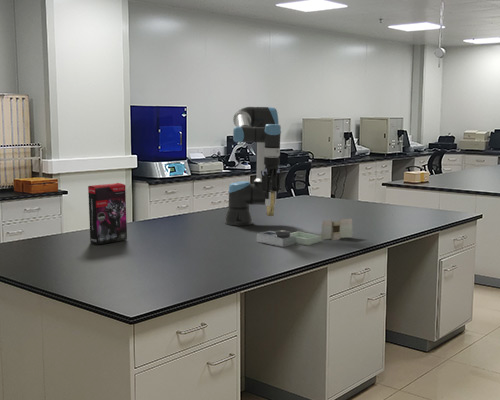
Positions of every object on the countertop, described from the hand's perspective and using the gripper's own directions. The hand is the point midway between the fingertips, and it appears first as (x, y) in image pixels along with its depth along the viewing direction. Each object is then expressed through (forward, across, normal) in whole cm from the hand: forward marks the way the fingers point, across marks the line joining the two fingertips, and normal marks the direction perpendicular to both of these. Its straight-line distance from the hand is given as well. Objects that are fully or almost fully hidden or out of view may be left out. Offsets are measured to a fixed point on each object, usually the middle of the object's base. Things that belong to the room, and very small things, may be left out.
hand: (270, 204), depth 295 cm
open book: (+19, +32, -18) cm, 41 cm away
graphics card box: (+18, -57, +52) cm, 79 cm away
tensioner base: (+18, 0, -4) cm, 19 cm away
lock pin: (+5, 0, 0) cm, 5 cm away
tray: (+18, +12, -11) cm, 24 cm away
